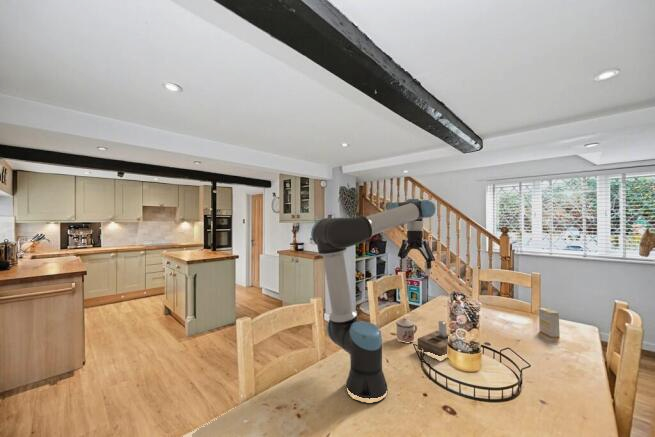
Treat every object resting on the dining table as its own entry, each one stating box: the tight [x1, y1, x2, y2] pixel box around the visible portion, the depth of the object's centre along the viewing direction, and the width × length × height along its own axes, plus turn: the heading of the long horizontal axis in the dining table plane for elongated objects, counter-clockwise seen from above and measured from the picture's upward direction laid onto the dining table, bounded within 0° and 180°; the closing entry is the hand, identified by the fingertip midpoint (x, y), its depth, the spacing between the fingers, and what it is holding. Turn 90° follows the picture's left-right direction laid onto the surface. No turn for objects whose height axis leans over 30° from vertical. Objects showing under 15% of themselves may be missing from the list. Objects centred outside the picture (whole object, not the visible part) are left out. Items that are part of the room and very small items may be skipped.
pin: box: [438, 320, 448, 340], centre depth 128 cm, size 3×3×12 cm
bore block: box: [417, 330, 450, 356], centre depth 126 cm, size 16×12×6 cm
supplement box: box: [538, 307, 560, 338], centre depth 143 cm, size 8×5×13 cm, turn 179°
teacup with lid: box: [395, 316, 418, 342], centre depth 139 cm, size 12×9×12 cm
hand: (415, 273), depth 130 cm, fingers open, 13 cm apart
